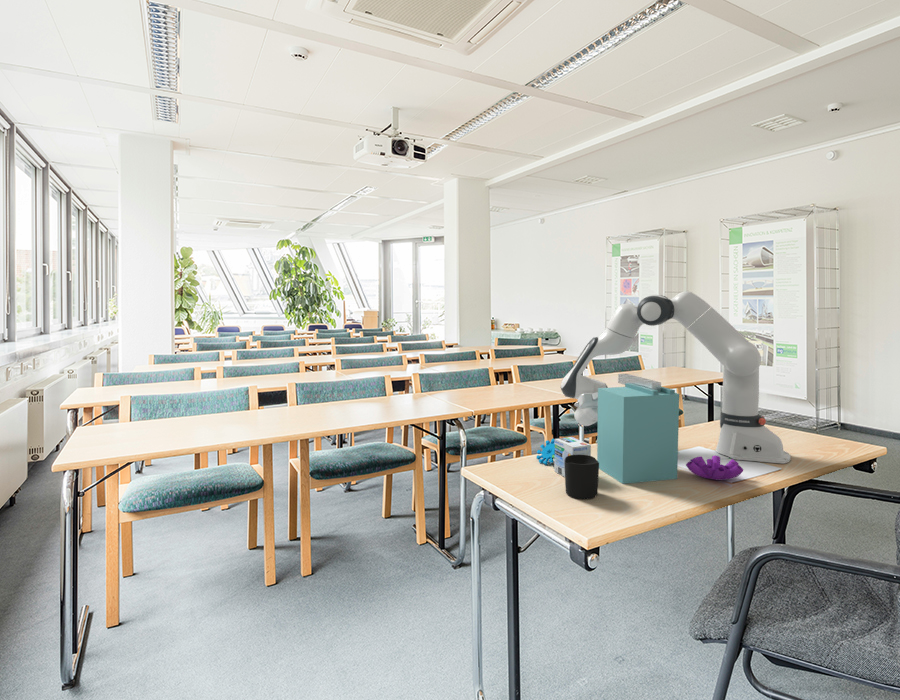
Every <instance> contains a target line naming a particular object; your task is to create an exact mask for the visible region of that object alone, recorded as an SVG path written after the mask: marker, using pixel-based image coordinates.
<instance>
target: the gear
mask: <svg viewBox="0 0 900 700" xmlns="http://www.w3.org/2000/svg"><path fill="white" fill-rule="evenodd" d="M555 439H556V438H552V439H551V440H549V439H548V440H545V444H544V443H542V444H541V445H539V446H540V448H541V449H542V450H540V449H538V450H537V451H536V453H537V455H536V459H537V460H538V463H540V464H543V465H545V466H546V465H548V463H550V464H554V460H555Z"/></svg>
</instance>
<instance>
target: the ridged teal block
mask: <svg viewBox="0 0 900 700" xmlns="http://www.w3.org/2000/svg"><path fill="white" fill-rule="evenodd" d="M679 412H680V393H678V392H676V390H675V389H673V388H668V387H665V386H661V392H658V391H657V390H653V389H649V388H646V387H642V386H639V385H635V384H632V383H625V385H624V386H618V387H617V386H616V387H608V388H598V421H597V440H596V441H597V448H596V449H597V450H596V451H597V452H596V453H597V454H596V455H597V456H596V457H597V458H596V460H597V461H598V462H599V470H601V471H602V472H604V473H605V474H607V475H608V476H610V477H612V478H613V479H615V480H616V481H618V482H619V483H620V484H622V485H623V484H625V485H626V484H635V483H636V484H637V483H647V482H657V481H658V482H659V481H667V480H668V481H669V480H677V479H678V463H679V462H678V459H679V424H680V423H679V418H680V413H679Z"/></svg>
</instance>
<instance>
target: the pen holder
mask: <svg viewBox="0 0 900 700" xmlns="http://www.w3.org/2000/svg"><path fill="white" fill-rule="evenodd" d="M564 464H565V477H564V483H565V493H566V495H567V496H569V497H570V498H573V499H578V500H591V499H592V500H593V499H595V498H596V497H597V496H598V490H599V472H600V471H599V470H600V469H599V462H598V461H597V458H595V457H594V456H589V455H569V456H567V457H566V458H565V460H564Z"/></svg>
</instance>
